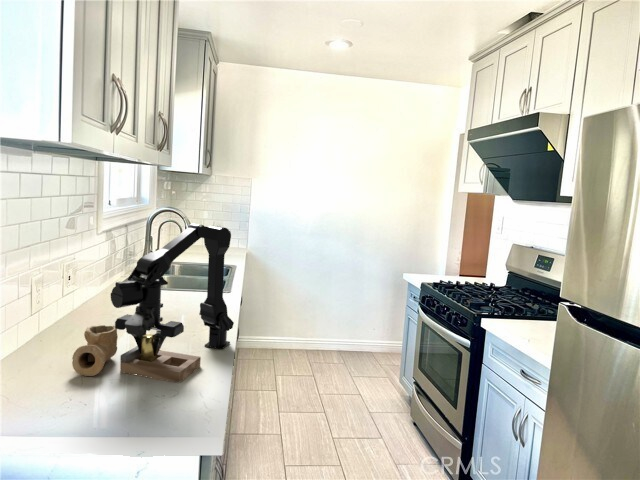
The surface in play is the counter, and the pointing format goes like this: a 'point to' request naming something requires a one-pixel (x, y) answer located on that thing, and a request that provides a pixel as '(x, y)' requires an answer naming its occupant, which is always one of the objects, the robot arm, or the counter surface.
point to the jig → (160, 365)
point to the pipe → (95, 350)
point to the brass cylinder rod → (147, 348)
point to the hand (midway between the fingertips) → (148, 354)
